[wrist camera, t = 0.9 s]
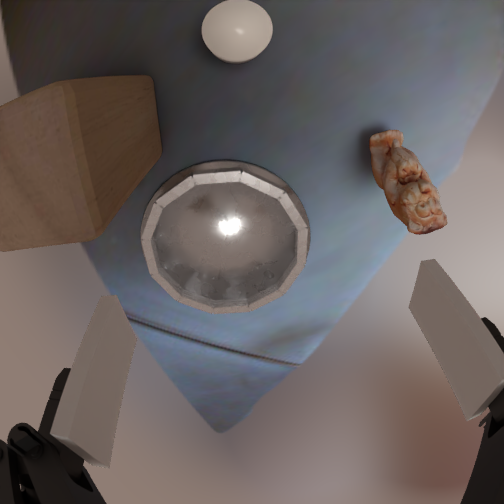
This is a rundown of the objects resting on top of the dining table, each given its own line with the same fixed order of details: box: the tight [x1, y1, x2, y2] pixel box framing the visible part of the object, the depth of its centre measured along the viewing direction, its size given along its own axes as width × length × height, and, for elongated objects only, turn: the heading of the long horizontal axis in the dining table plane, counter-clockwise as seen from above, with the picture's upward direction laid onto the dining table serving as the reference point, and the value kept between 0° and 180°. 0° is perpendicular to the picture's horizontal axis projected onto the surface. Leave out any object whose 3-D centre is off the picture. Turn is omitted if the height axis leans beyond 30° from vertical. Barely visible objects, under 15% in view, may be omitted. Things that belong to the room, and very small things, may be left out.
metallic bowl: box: [141, 160, 310, 314], centre depth 39 cm, size 22×22×2 cm
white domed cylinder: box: [202, 0, 273, 64], centre depth 24 cm, size 6×6×7 cm
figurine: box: [369, 130, 447, 235], centre depth 28 cm, size 6×8×15 cm
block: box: [0, 75, 162, 252], centre depth 22 cm, size 10×10×20 cm
